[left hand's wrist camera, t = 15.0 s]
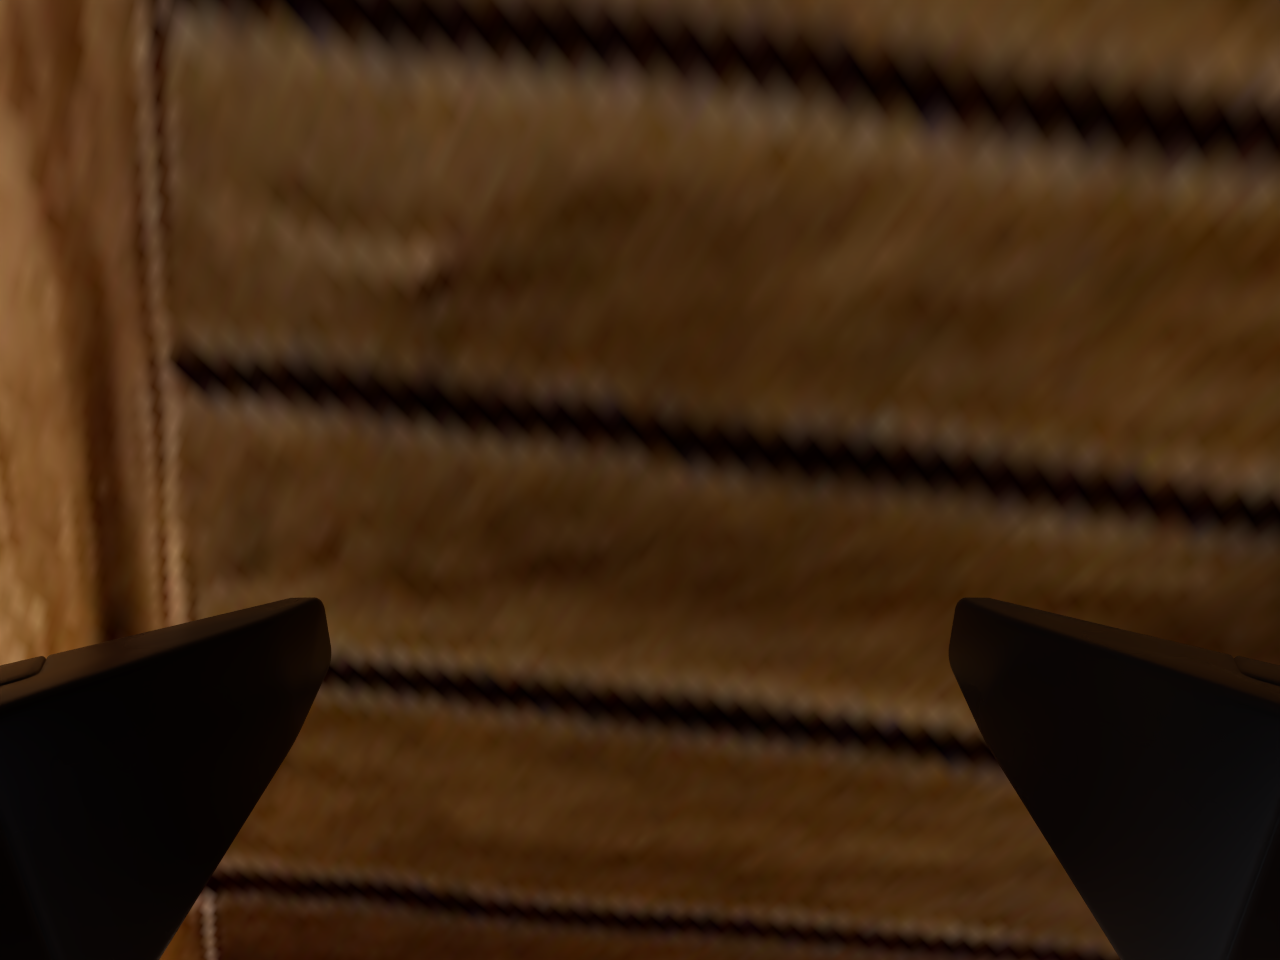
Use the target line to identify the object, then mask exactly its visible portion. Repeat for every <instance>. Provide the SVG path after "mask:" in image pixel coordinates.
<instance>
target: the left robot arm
mask: <svg viewBox="0 0 1280 960" xmlns="http://www.w3.org/2000/svg"><path fill="white" fill-rule="evenodd" d="M330 661H331V645H330V638H329V632H328V626H327V620H326V614H325V608H324V605H323V603H322V602H321V600H319V599H318V598H289V599H285V600H280V601H276V602H272V603H268V604H264V605H259V606H255V607H251V608H247V609H242V610H238V611H234V612H230V613H226V614H221V615H217V616H213V617H209V618H204V619H200V620H196V621H192V622H188V623H183V624H179V625H175V626H171V627H167V628H162V629H158V630H154V631H150V632H145V633H141V634H137V635H133V636H129V637H124V638H120V639H116V640H112V641H107V642H103V643H99V644H95V645H91V646H86V647H82V648H78V649H74V650H69V651H65V652H61V653H57V654H53V655H49V656H48V657H47V659H46V658H45V657H43V656H40V657H35V658H31V659H27V660H22V661H18V662H14V663H10V664H5V665H1V666H0V960H159V959H160V957H161V956H162V954H163V953H164V951H165V949H166V948H167V946H168V944H169V943H170V941H171V940H172V938H173V936H174V935H175V933H176V932H177V930H178V928H179V927H180V925H181V924H182V922H183V920H184V919H185V917H186V916H187V914H188V912H189V911H190V909H191V908H192V906H193V904H194V903H195V901H196V900H197V898H198V896H199V895H200V893H201V892H202V890H203V888H204V887H205V885H206V884H207V882H208V880H209V879H210V877H211V876H212V874H213V872H214V871H215V869H216V868H217V866H218V864H219V863H220V861H221V860H222V858H223V856H224V855H225V853H226V852H227V850H228V848H229V847H230V845H231V844H232V842H233V840H234V839H235V837H236V836H237V834H238V832H239V831H240V829H241V827H242V826H243V824H244V823H245V821H246V819H247V818H248V816H249V815H250V813H251V811H252V810H253V808H254V807H255V805H256V803H257V802H258V800H259V799H260V797H261V795H262V794H263V792H264V791H265V789H266V787H267V786H268V784H269V783H270V781H271V779H272V778H273V776H274V775H275V773H276V771H277V770H278V768H279V767H280V765H281V763H282V762H283V760H284V759H285V757H286V755H287V754H288V752H289V750H290V749H291V747H292V745H293V743H294V742H295V740H296V738H297V736H298V734H299V732H300V730H301V728H302V726H303V723H304V721H305V719H306V717H307V715H308V712H309V710H310V708H311V706H312V704H313V702H314V699H315V697H316V695H317V693H318V691H319V688H320V686H321V684H322V682H323V680H324V677H325V675H326V673H327V671H328V668H329V665H330ZM949 661H950V665H951V668H952V671H953V673H954V675H955V677H956V680H957V682H958V684H959V686H960V688H961V691H962V693H963V695H964V697H965V699H966V702H967V704H968V706H969V708H970V710H971V712H972V715H973V717H974V719H975V721H976V723H977V726H978V728H979V730H980V732H981V734H982V736H983V738H984V740H985V742H986V743H987V745H988V747H989V749H990V750H991V752H992V754H993V755H994V757H995V759H996V760H997V762H998V763H999V765H1000V767H1001V768H1002V770H1003V771H1004V773H1005V775H1006V776H1007V778H1008V779H1009V781H1010V783H1011V784H1012V786H1013V787H1014V789H1015V791H1016V792H1017V794H1018V795H1019V797H1020V799H1021V800H1022V802H1023V803H1024V805H1025V807H1026V808H1027V810H1028V811H1029V813H1030V815H1031V816H1032V818H1033V819H1034V821H1035V823H1036V824H1037V826H1038V827H1039V829H1040V831H1041V832H1042V834H1043V835H1044V837H1045V839H1046V840H1047V842H1048V843H1049V845H1050V847H1051V848H1052V850H1053V851H1054V853H1055V855H1056V856H1057V858H1058V860H1059V861H1060V863H1061V864H1062V866H1063V868H1064V869H1065V871H1066V872H1067V874H1068V876H1069V877H1070V879H1071V880H1072V882H1073V884H1074V885H1075V887H1076V888H1077V890H1078V892H1079V893H1080V895H1081V896H1082V898H1083V900H1084V901H1085V903H1086V904H1087V906H1088V908H1089V909H1090V911H1091V912H1092V914H1093V916H1094V917H1095V919H1096V920H1097V922H1098V924H1099V925H1100V927H1101V928H1102V930H1103V932H1104V933H1105V935H1106V936H1107V938H1108V940H1109V941H1110V943H1111V944H1112V946H1113V948H1114V949H1115V951H1116V952H1117V954H1118V956H1119V957H1120V959H1121V960H1280V666H1279V665H1275V664H1270V663H1266V662H1262V661H1258V660H1253V659H1249V658H1245V657H1240V656H1237V657H1235V658H1234V659H1233V657H1232V656H1231V655H1228V654H1223V653H1219V652H1215V651H1211V650H1207V649H1202V648H1198V647H1194V646H1190V645H1185V644H1181V643H1177V642H1173V641H1169V640H1164V639H1160V638H1156V637H1152V636H1147V635H1143V634H1139V633H1135V632H1131V631H1126V630H1122V629H1118V628H1114V627H1109V626H1105V625H1101V624H1097V623H1092V622H1088V621H1084V620H1080V619H1076V618H1071V617H1067V616H1063V615H1059V614H1054V613H1050V612H1046V611H1042V610H1038V609H1033V608H1029V607H1025V606H1021V605H1016V604H1012V603H1008V602H1004V601H1000V600H995V599H991V598H962V599H961V600H959V601H958V603H957V605H956V608H955V614H954V620H953V626H952V632H951V638H950V644H949Z"/></svg>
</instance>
